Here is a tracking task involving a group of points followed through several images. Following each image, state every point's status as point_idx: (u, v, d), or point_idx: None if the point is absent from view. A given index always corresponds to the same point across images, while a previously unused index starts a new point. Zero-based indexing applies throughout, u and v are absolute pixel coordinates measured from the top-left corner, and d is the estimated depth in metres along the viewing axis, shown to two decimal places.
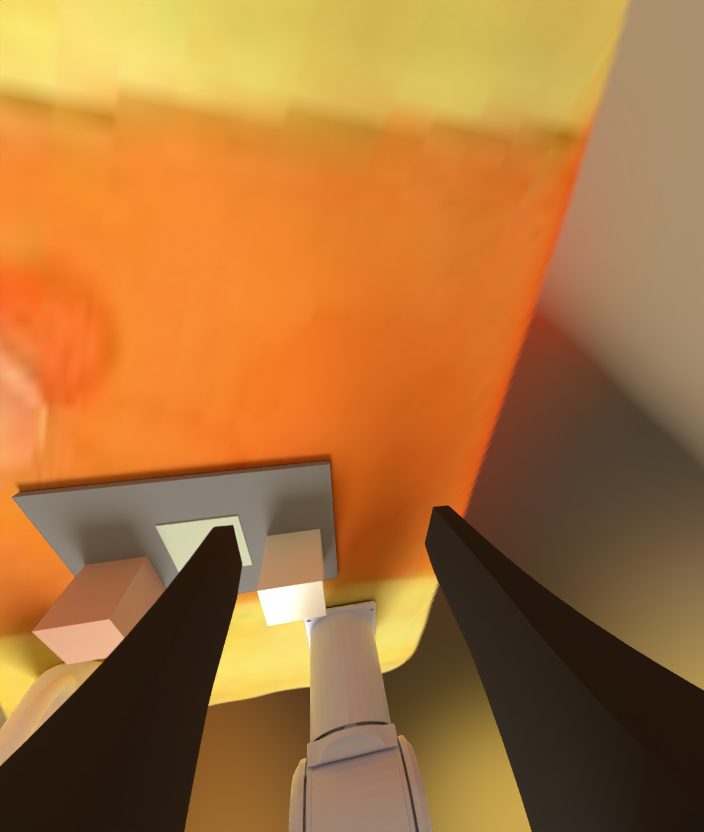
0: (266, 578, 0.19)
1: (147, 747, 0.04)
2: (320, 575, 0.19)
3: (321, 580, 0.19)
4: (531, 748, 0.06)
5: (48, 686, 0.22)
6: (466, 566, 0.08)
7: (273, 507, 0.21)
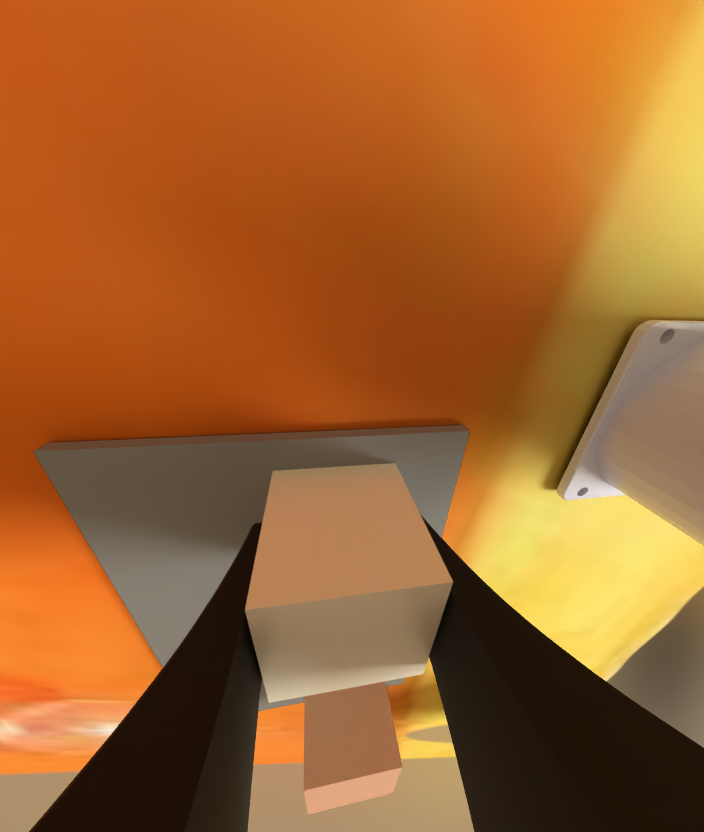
0: None
1: (228, 731, 0.05)
2: (249, 593, 0.06)
3: (251, 606, 0.05)
4: (477, 761, 0.06)
5: None
6: None
7: (200, 546, 0.10)
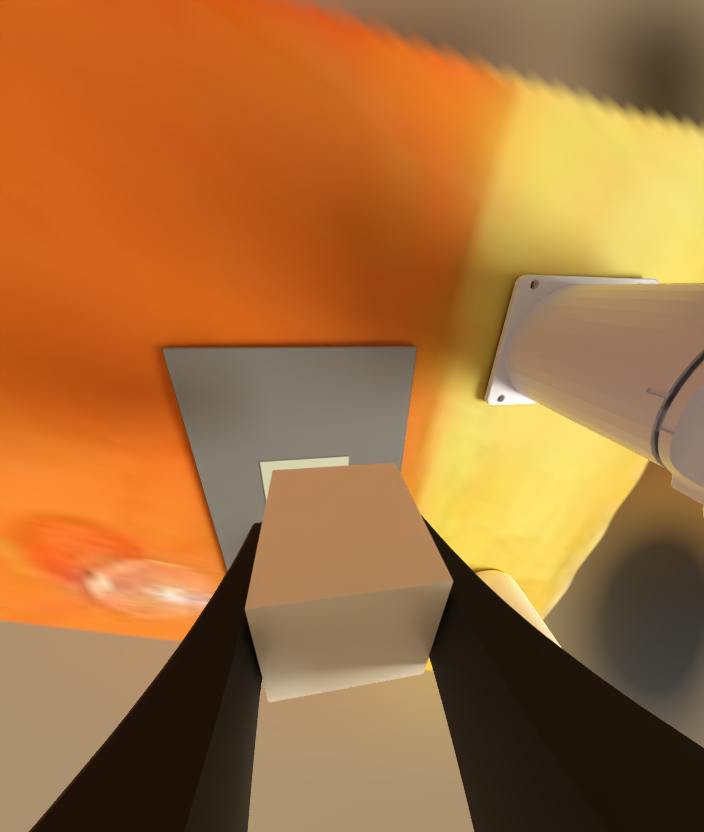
0: None
1: (228, 731, 0.05)
2: (249, 592, 0.06)
3: (251, 605, 0.05)
4: (476, 762, 0.06)
5: None
6: None
7: (248, 425, 0.16)
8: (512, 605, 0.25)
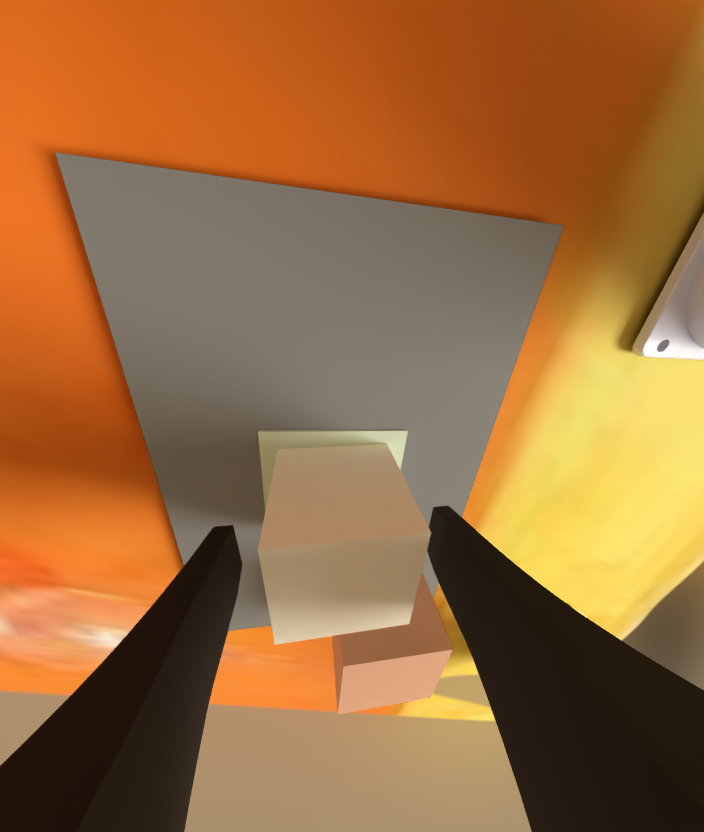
0: None
1: (147, 747, 0.04)
2: (260, 539, 0.07)
3: (263, 548, 0.07)
4: (531, 748, 0.06)
5: None
6: (466, 566, 0.08)
7: (240, 358, 0.09)
8: None
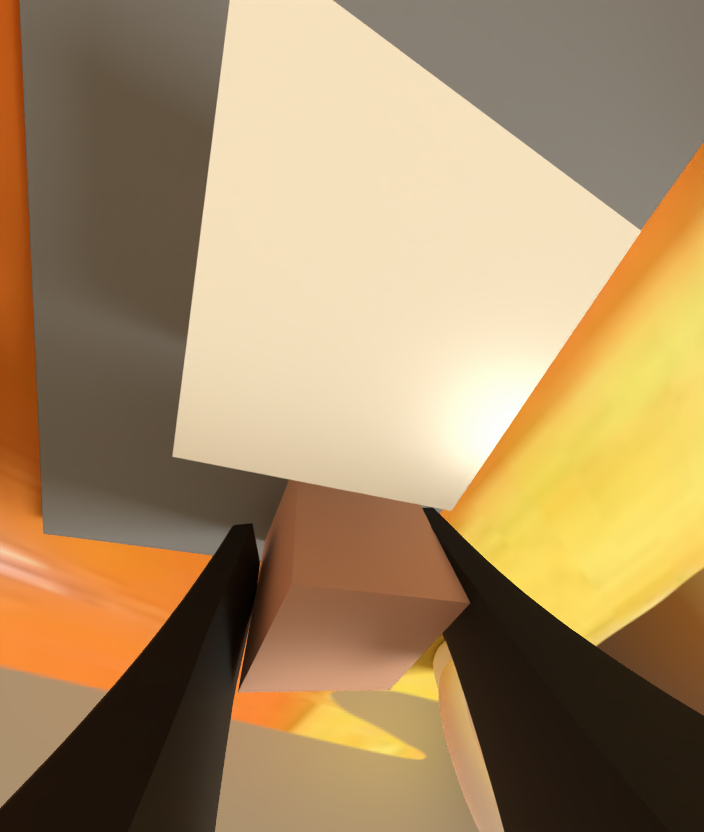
0: None
1: (187, 739, 0.04)
2: None
3: None
4: (505, 754, 0.06)
5: (440, 692, 0.14)
6: None
7: None
8: None
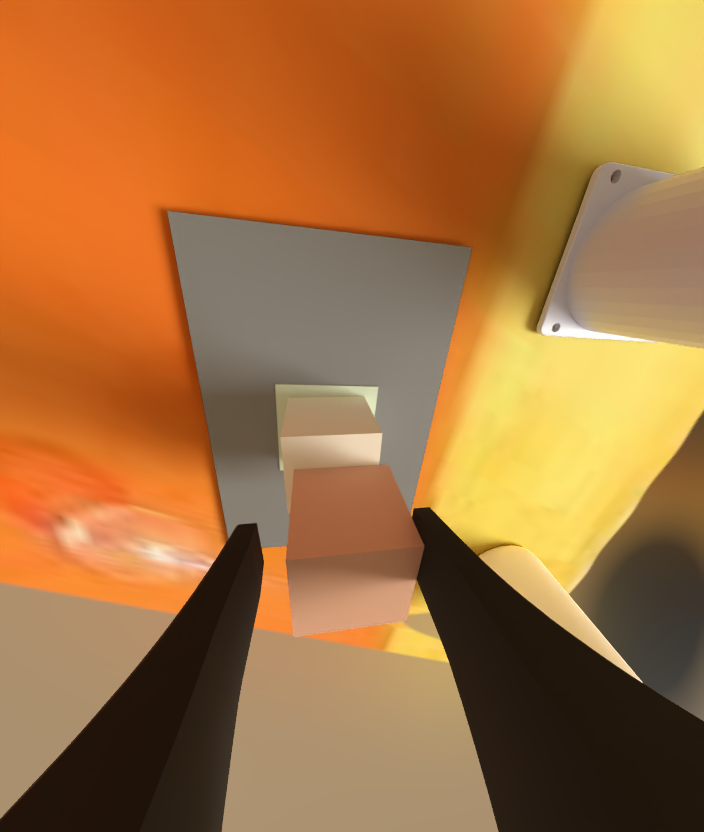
0: None
1: (195, 737, 0.04)
2: (281, 434, 0.12)
3: (283, 437, 0.11)
4: (500, 756, 0.06)
5: None
6: (442, 569, 0.08)
7: (265, 332, 0.14)
8: (540, 579, 0.22)
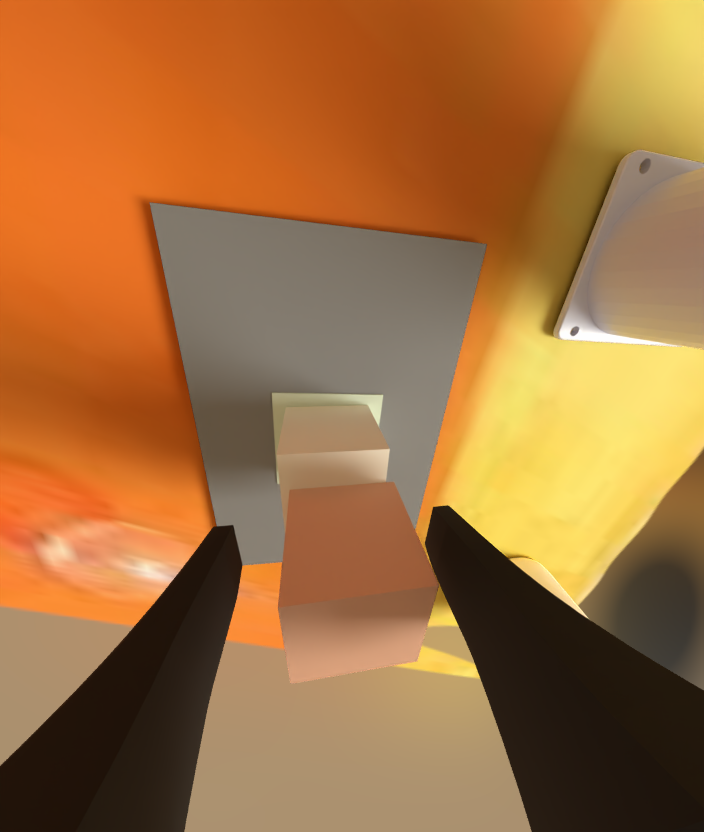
0: None
1: (147, 747, 0.04)
2: None
3: (279, 454, 0.10)
4: (531, 748, 0.06)
5: None
6: (466, 566, 0.08)
7: (260, 337, 0.12)
8: None
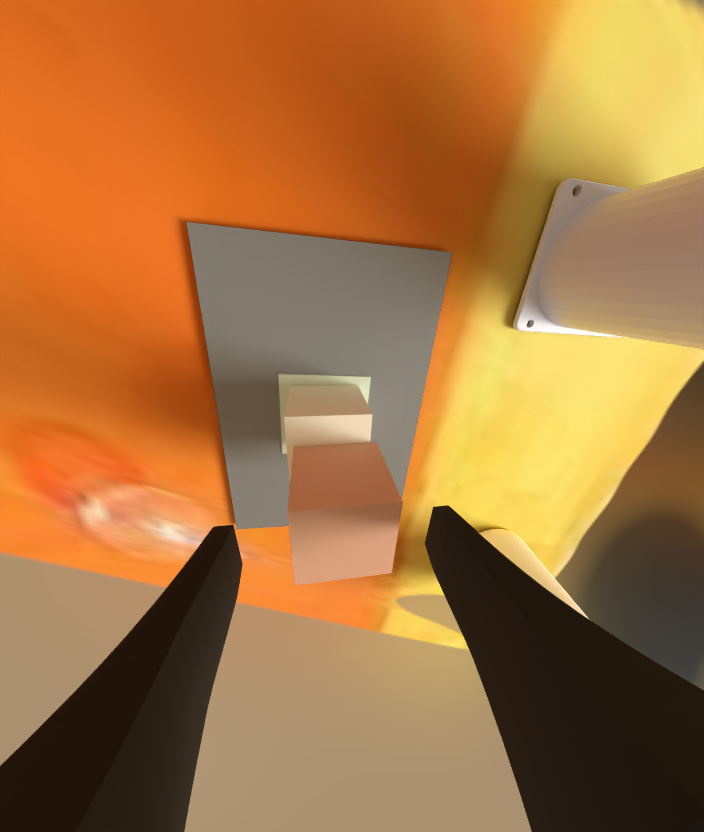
0: None
1: (147, 747, 0.04)
2: None
3: (286, 417, 0.13)
4: (531, 748, 0.06)
5: None
6: (466, 566, 0.08)
7: (270, 327, 0.15)
8: (522, 558, 0.24)
